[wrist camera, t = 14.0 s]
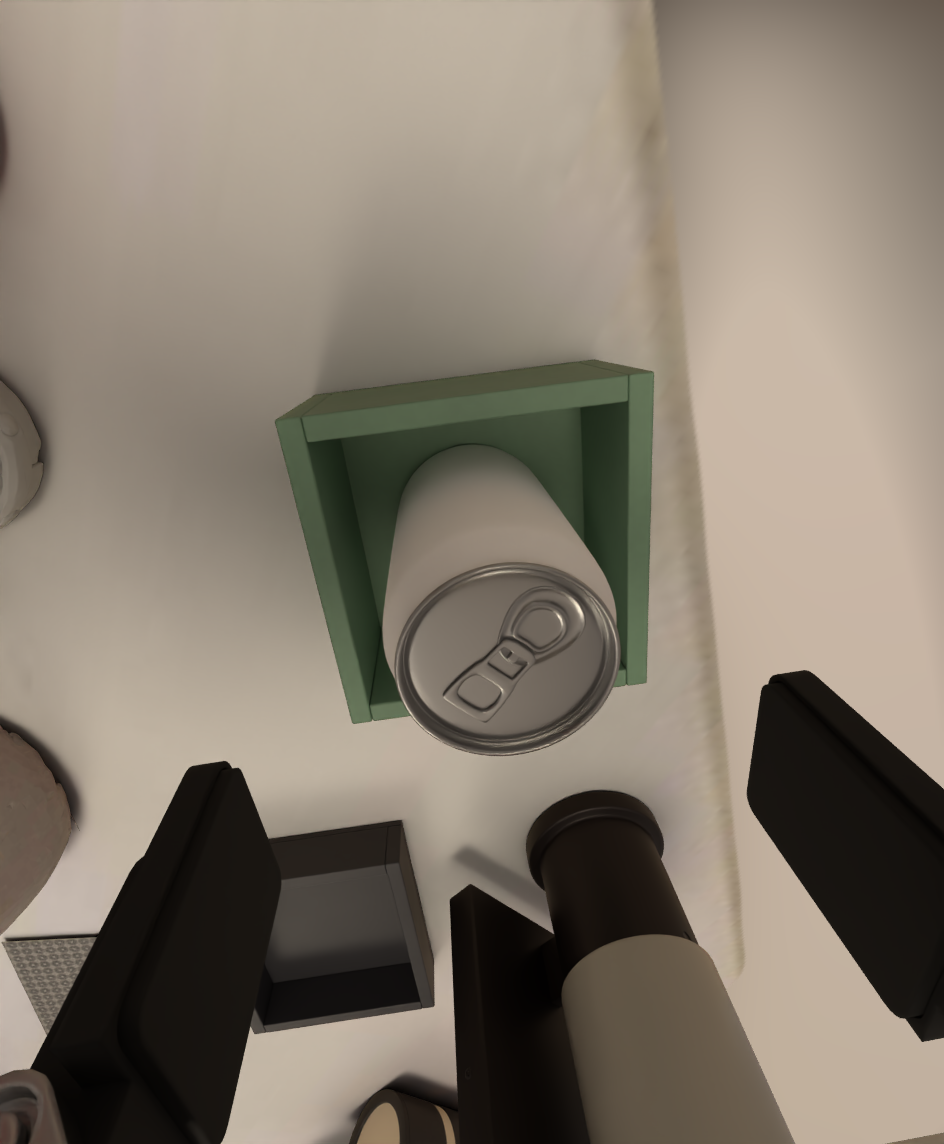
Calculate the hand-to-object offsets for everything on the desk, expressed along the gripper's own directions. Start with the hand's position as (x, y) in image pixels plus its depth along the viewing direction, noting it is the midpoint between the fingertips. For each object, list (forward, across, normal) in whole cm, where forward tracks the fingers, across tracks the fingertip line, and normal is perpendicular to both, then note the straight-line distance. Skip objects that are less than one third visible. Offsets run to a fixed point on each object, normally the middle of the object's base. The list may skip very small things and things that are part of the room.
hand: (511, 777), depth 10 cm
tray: (+16, +11, +26) cm, 32 cm away
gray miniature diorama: (+16, +26, +32) cm, 45 cm away
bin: (+16, -1, 0) cm, 16 cm away
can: (+16, -1, 0) cm, 16 cm away
